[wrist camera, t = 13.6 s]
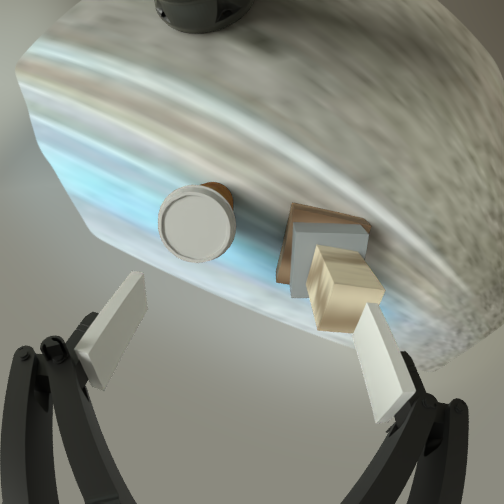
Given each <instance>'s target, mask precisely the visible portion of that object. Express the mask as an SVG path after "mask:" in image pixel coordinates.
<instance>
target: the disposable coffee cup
mask: <svg viewBox="0 0 504 504" xmlns="http://www.w3.org/2000/svg"><path fill="white" fill-rule="evenodd" d="M158 230H159V234H160V238H161V240H162V242H163V244H164V245H165V247H166V248H167V249H168V250H169V251H170V252H171V253H172V254H173V255H175V256H176V257H178V258H180V259H182V260H184V261H188V262H192V263H201V262H206V261H210V260H213V259H215V258H217V257H219V256H221V255H222V254H224V253H225V252H226V250H227V249H228V248H229V247H230V245H231V244H232V242H233V240H234V237H235V232H236V219H235V215H234V212H233V197H232V194H231V193H230V191H229V190H228V189H227V188H226V187H225V186H224V185H222V184H220V183H216V182H208V183H205V184H201V185H187V186H184V187H181V188H178V189H176V190H175V191H173V192H172V193H171V194H169V195H168V196H167V198H166V199H165V200H164V202H163V203H162V205H161V207H160V210H159V214H158Z"/></svg>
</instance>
